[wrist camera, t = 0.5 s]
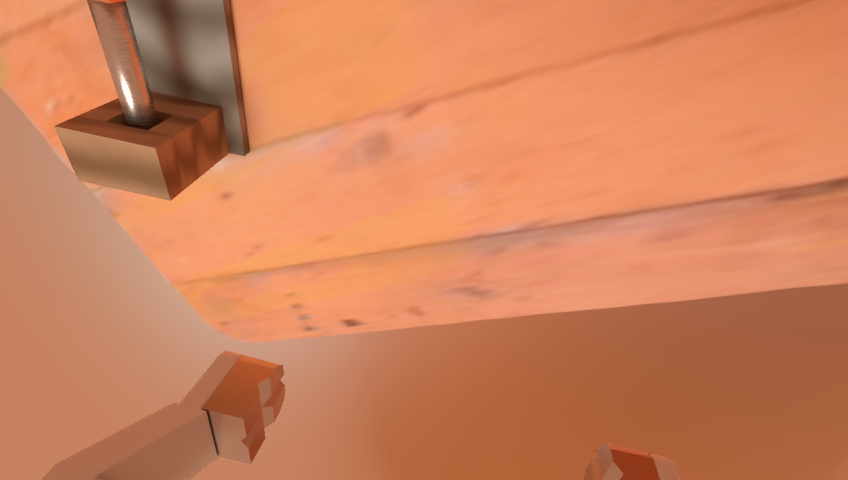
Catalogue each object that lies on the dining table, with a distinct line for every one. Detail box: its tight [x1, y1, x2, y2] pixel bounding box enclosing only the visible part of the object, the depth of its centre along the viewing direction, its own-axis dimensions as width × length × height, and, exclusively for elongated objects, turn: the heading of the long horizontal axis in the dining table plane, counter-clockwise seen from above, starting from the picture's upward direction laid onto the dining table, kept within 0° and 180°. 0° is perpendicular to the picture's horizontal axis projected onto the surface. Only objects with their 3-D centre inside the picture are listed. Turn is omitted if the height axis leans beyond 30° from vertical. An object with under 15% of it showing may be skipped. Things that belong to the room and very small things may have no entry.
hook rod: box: [87, 0, 159, 130], centre depth 41 cm, size 21×3×7 cm, turn 171°
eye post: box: [54, 0, 249, 201], centre depth 37 cm, size 32×14×13 cm, turn 171°
